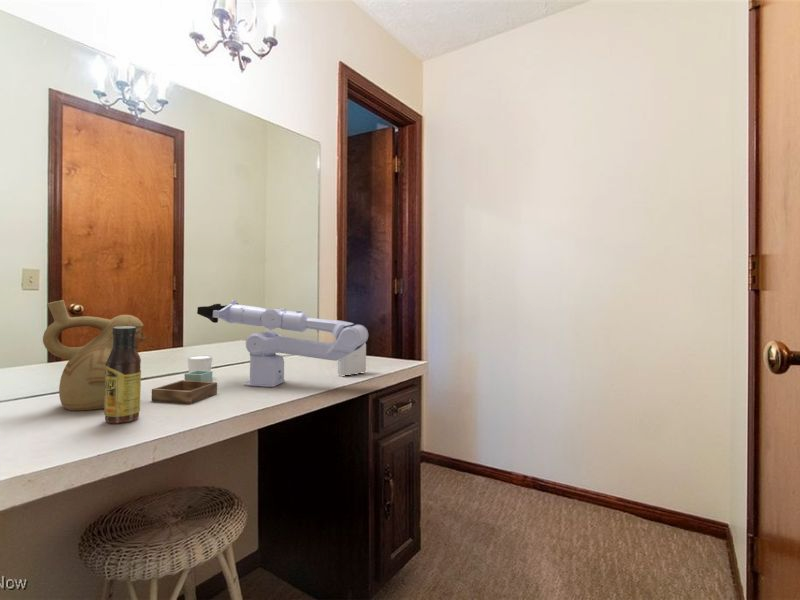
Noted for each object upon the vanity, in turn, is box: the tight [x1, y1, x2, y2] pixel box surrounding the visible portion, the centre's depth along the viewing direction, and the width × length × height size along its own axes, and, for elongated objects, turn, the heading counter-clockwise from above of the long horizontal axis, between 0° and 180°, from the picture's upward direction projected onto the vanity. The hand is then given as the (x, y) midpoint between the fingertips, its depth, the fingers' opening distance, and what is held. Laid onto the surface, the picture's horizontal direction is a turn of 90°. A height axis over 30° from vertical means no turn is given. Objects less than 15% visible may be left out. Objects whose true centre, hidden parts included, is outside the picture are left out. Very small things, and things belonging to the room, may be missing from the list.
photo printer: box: [337, 342, 367, 376], centre depth 135 cm, size 10×4×12 cm, turn 133°
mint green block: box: [184, 370, 213, 382], centre depth 112 cm, size 5×5×4 cm
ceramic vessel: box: [42, 299, 147, 411], centre depth 95 cm, size 17×20×25 cm
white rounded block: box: [187, 355, 213, 373], centre depth 123 cm, size 7×7×7 cm
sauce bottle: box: [103, 326, 142, 425], centre depth 84 cm, size 7×6×20 cm
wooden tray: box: [151, 379, 218, 405], centre depth 102 cm, size 11×11×3 cm
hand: (206, 309), depth 122 cm, fingers open, 7 cm apart
